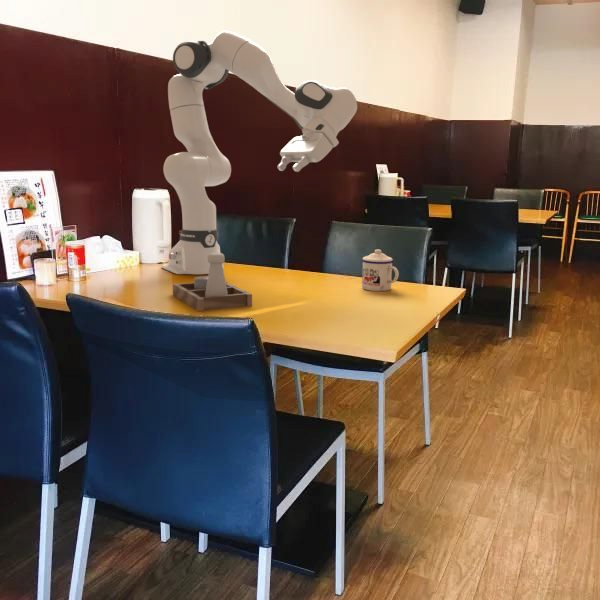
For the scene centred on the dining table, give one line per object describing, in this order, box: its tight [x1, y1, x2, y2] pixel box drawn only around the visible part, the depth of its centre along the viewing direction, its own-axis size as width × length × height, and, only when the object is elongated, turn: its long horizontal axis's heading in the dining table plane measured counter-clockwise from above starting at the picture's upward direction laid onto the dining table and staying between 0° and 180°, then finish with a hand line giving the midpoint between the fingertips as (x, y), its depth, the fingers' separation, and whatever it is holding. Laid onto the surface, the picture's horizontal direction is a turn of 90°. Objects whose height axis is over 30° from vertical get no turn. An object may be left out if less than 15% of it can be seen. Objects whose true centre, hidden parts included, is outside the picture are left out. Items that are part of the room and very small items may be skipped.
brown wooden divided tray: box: [172, 282, 253, 312], centre depth 162 cm, size 21×14×4 cm
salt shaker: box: [205, 252, 228, 297], centre depth 157 cm, size 6×6×13 cm
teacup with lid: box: [361, 249, 400, 292], centre depth 183 cm, size 12×9×12 cm
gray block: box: [193, 275, 208, 290], centre depth 166 cm, size 6×6×5 cm
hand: (287, 169), depth 178 cm, fingers open, 8 cm apart
